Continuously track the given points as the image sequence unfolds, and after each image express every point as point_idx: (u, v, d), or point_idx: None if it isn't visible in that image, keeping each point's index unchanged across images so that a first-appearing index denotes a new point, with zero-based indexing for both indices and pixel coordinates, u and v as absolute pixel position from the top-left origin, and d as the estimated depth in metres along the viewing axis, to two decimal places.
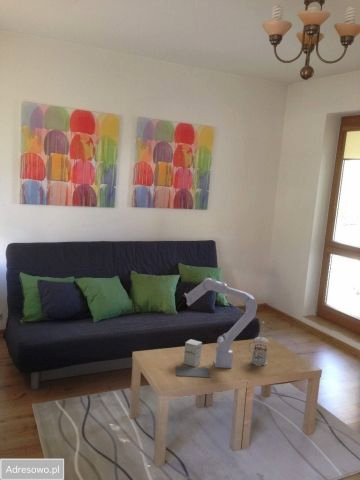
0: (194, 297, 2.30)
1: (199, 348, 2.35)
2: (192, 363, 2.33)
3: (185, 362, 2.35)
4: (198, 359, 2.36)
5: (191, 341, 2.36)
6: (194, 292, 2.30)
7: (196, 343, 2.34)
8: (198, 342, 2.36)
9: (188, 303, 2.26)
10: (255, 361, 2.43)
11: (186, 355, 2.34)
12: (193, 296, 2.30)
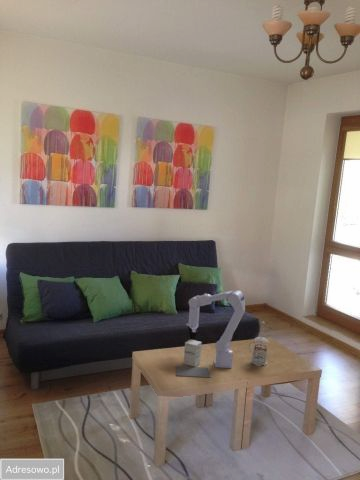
0: (194, 321, 2.41)
1: (199, 348, 2.35)
2: (192, 363, 2.33)
3: (185, 362, 2.35)
4: (198, 359, 2.36)
5: (191, 341, 2.36)
6: (191, 318, 2.41)
7: (196, 343, 2.34)
8: (198, 342, 2.36)
9: (193, 330, 2.37)
10: (255, 361, 2.43)
11: (186, 355, 2.34)
12: (192, 321, 2.41)
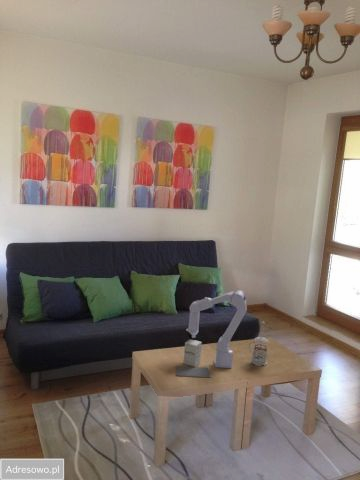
0: (194, 326, 2.37)
1: (199, 348, 2.35)
2: (192, 364, 2.33)
3: (185, 362, 2.35)
4: (198, 359, 2.36)
5: (191, 341, 2.36)
6: (191, 323, 2.37)
7: (196, 343, 2.33)
8: (198, 342, 2.35)
9: (193, 336, 2.33)
10: (255, 361, 2.43)
11: (186, 355, 2.34)
12: (192, 326, 2.37)
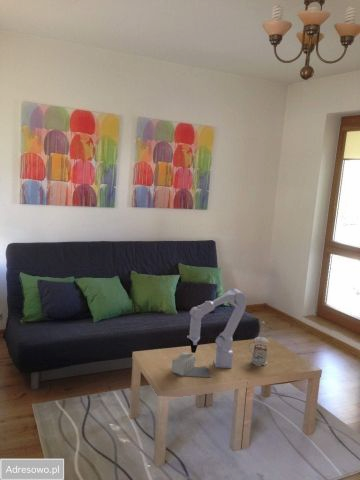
0: (195, 333, 2.28)
1: (186, 365, 2.23)
2: None
3: None
4: (192, 362, 2.28)
5: (175, 366, 2.23)
6: (192, 329, 2.28)
7: (180, 370, 2.21)
8: (181, 366, 2.21)
9: (194, 343, 2.24)
10: (255, 361, 2.43)
11: None
12: (194, 333, 2.28)
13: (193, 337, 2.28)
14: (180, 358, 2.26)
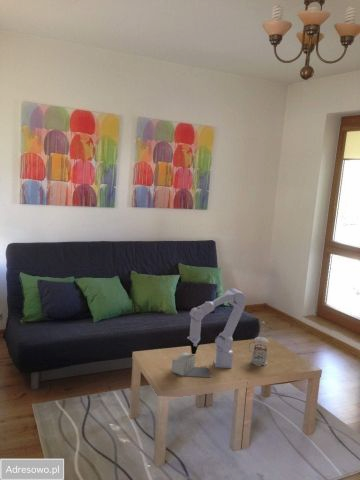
0: (195, 334, 2.26)
1: (186, 365, 2.23)
2: None
3: None
4: (192, 362, 2.28)
5: (175, 366, 2.23)
6: (192, 331, 2.27)
7: (180, 370, 2.21)
8: (181, 366, 2.21)
9: (194, 344, 2.23)
10: (255, 361, 2.43)
11: None
12: (194, 334, 2.26)
13: (193, 338, 2.27)
14: (180, 358, 2.26)
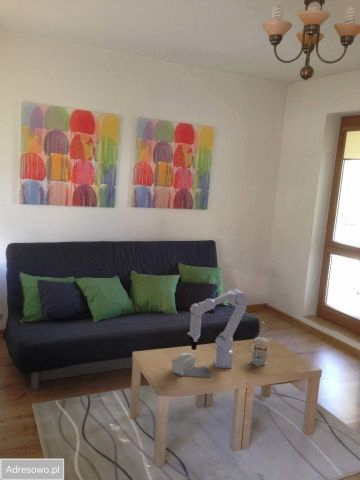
0: (195, 330, 2.27)
1: (186, 365, 2.23)
2: None
3: None
4: (192, 362, 2.28)
5: (175, 366, 2.23)
6: (192, 326, 2.27)
7: (180, 370, 2.21)
8: (181, 366, 2.21)
9: (195, 340, 2.23)
10: (255, 361, 2.43)
11: None
12: (194, 330, 2.27)
13: (193, 334, 2.28)
14: (180, 358, 2.26)
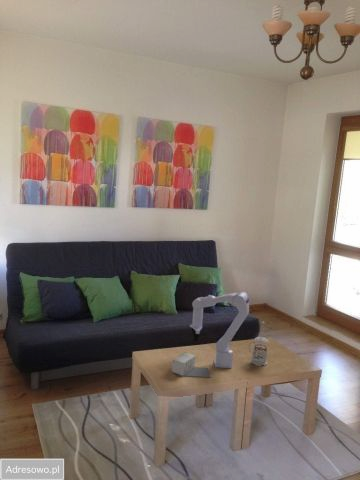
0: (198, 322, 2.39)
1: (186, 365, 2.23)
2: None
3: None
4: (192, 362, 2.28)
5: (175, 366, 2.23)
6: (194, 319, 2.39)
7: (180, 370, 2.21)
8: (181, 366, 2.21)
9: (197, 332, 2.35)
10: (255, 361, 2.43)
11: None
12: (196, 322, 2.39)
13: (196, 326, 2.39)
14: (180, 358, 2.26)
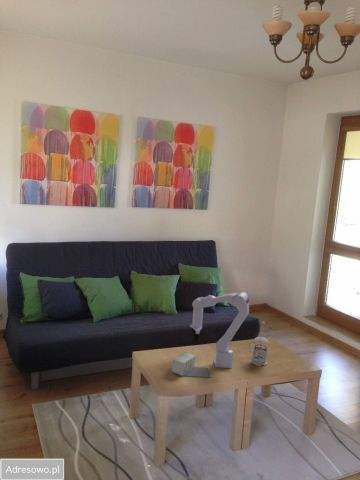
0: (198, 322, 2.39)
1: (186, 365, 2.23)
2: None
3: None
4: (192, 362, 2.28)
5: (175, 366, 2.23)
6: (194, 319, 2.39)
7: (180, 370, 2.21)
8: (181, 366, 2.21)
9: (197, 332, 2.35)
10: (255, 361, 2.43)
11: None
12: (196, 322, 2.39)
13: (196, 326, 2.39)
14: (180, 358, 2.26)
